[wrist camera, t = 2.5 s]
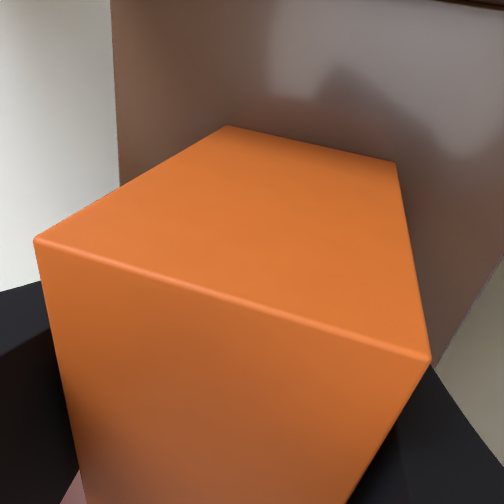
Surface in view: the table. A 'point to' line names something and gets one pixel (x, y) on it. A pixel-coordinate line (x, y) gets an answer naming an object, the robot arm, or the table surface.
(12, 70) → the table surface
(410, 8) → the shelf
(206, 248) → the block
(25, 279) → the table surface
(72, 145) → the table surface
